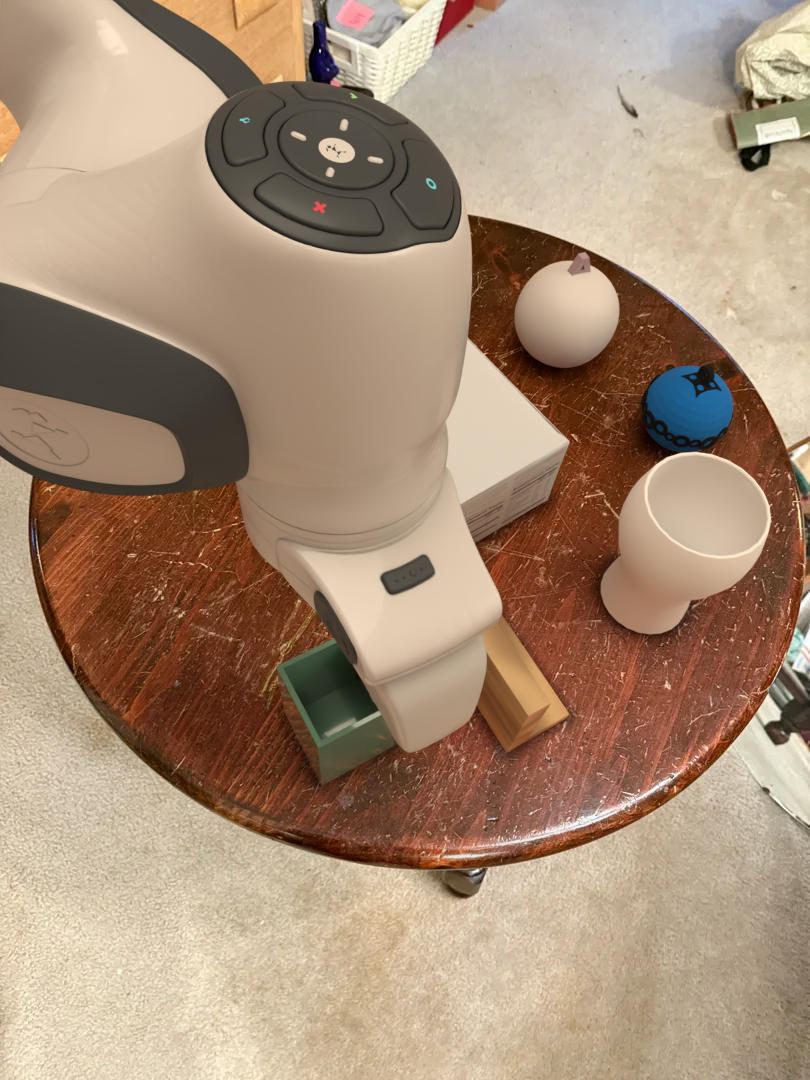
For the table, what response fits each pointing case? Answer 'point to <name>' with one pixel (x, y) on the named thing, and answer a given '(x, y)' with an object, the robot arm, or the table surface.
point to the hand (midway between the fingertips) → (342, 618)
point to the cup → (683, 539)
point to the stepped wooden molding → (515, 690)
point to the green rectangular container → (331, 711)
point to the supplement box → (498, 448)
